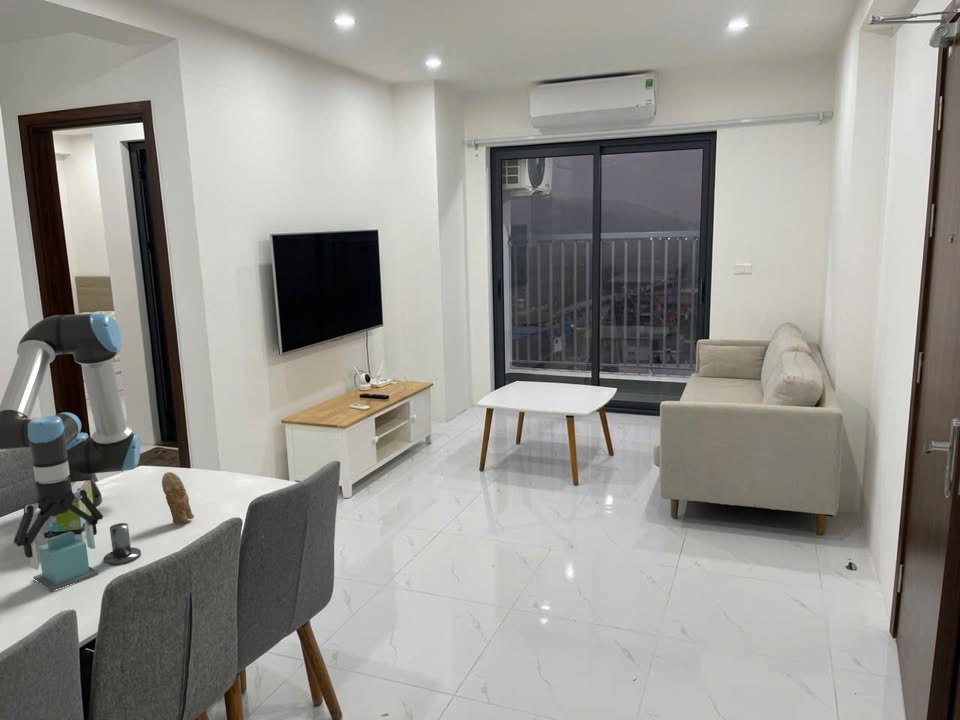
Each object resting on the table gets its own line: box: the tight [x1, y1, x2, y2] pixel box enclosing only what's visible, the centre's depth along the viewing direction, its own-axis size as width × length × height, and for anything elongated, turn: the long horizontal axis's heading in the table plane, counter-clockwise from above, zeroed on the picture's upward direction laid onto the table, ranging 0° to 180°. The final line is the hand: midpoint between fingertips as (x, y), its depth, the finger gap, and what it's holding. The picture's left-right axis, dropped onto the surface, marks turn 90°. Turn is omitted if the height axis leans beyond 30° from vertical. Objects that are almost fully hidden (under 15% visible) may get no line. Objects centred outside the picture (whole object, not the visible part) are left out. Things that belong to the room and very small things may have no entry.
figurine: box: [161, 471, 195, 524], centre depth 215 cm, size 8×8×15 cm
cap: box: [38, 531, 90, 585], centre depth 180 cm, size 8×8×10 cm
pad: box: [33, 566, 99, 592], centre depth 181 cm, size 11×11×1 cm
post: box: [103, 522, 142, 566], centre depth 191 cm, size 9×9×9 cm
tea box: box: [42, 480, 93, 545], centre depth 204 cm, size 15×10×15 cm, turn 17°
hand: (64, 557), depth 181 cm, fingers open, 13 cm apart
